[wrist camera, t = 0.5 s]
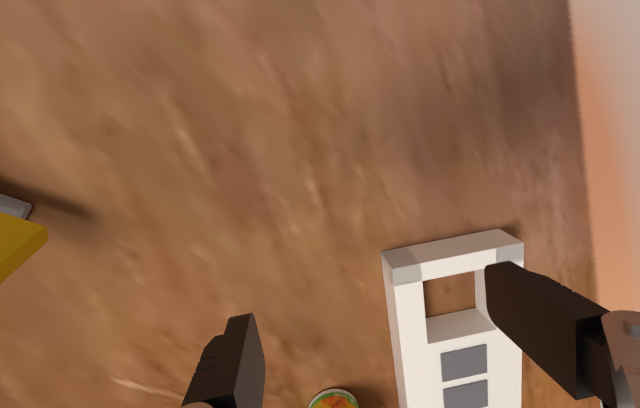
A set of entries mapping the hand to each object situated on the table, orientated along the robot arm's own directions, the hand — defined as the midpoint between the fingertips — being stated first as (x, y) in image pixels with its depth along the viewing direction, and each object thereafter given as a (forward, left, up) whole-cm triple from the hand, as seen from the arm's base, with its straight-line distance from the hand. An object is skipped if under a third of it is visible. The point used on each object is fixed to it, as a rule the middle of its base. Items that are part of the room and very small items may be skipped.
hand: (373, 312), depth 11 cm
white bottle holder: (+17, +10, -18) cm, 27 cm away
